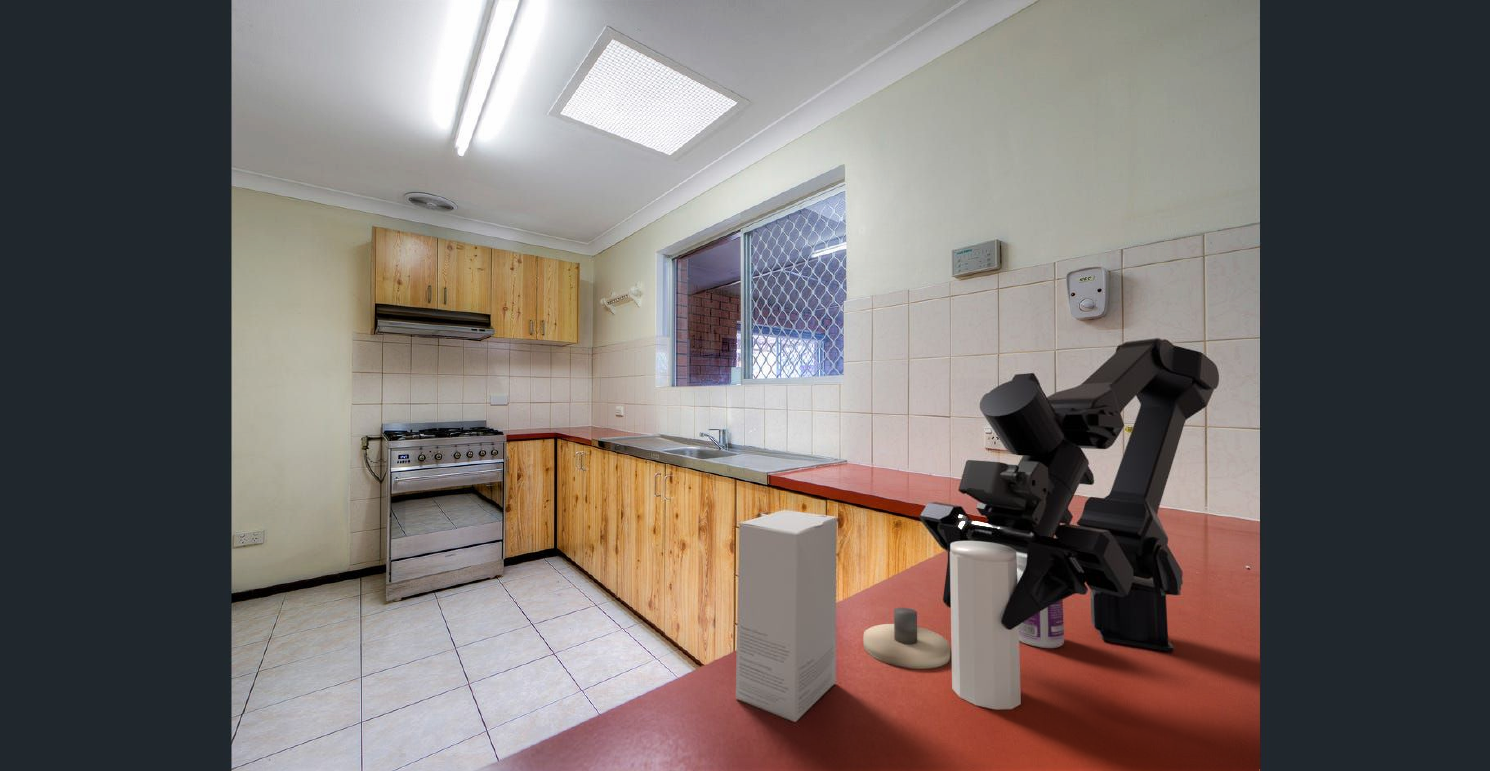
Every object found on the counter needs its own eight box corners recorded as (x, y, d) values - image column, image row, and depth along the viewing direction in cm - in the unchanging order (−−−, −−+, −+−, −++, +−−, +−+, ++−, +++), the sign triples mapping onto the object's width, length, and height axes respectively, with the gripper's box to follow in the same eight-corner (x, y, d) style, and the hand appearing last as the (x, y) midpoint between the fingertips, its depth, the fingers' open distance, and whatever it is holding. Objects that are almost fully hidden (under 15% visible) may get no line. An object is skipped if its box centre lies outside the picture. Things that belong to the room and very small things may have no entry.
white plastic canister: (1019, 685, 48) (1015, 544, 49) (1021, 715, 43) (1017, 557, 44) (955, 672, 51) (952, 538, 52) (950, 699, 46) (947, 550, 47)
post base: (953, 642, 58) (952, 605, 58) (946, 676, 50) (945, 633, 50) (873, 627, 62) (873, 593, 62) (854, 656, 54) (854, 617, 54)
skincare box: (781, 665, 52) (782, 508, 53) (841, 685, 48) (842, 515, 49) (731, 700, 45) (734, 519, 46) (797, 727, 41) (799, 529, 42)
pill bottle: (1049, 631, 61) (1047, 549, 62) (1073, 650, 56) (1070, 560, 57) (1002, 629, 62) (1000, 547, 63) (1022, 648, 57) (1019, 558, 57)
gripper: (929, 430, 59) (856, 537, 52) (1110, 433, 43) (1036, 588, 36) (975, 496, 62) (911, 604, 56) (1159, 522, 46) (1099, 678, 40)
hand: (974, 614), depth 47 cm, fingers closed on white plastic canister, 6 cm apart
